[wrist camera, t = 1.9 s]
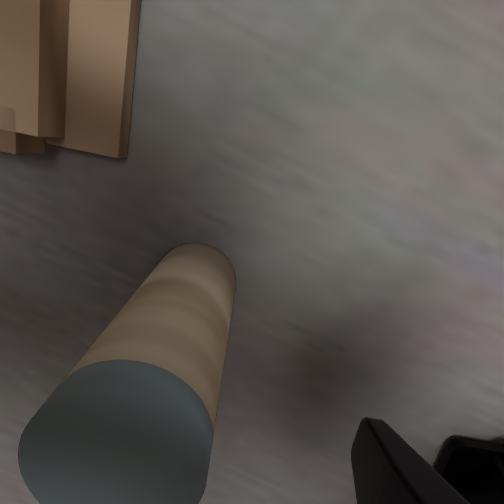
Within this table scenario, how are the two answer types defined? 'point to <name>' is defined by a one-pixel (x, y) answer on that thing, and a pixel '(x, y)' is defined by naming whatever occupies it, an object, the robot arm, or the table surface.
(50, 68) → the cradle
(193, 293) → the peg
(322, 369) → the table surface
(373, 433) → the robot arm
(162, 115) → the table surface
